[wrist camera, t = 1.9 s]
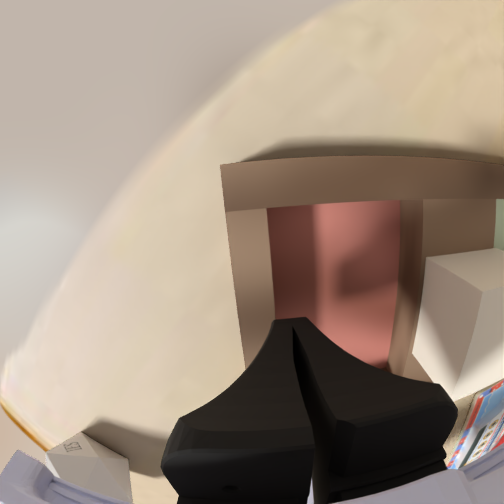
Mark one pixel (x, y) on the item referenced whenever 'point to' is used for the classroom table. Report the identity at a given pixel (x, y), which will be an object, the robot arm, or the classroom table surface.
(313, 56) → the classroom table surface
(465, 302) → the block
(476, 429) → the puzzle board
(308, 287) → the tray
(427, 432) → the robot arm
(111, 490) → the die
